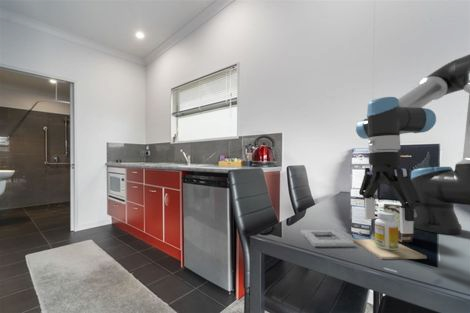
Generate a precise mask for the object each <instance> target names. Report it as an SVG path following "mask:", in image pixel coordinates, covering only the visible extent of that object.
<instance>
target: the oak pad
mask: <svg viewBox="0 0 470 313" xmlns="http://www.w3.org/2000/svg"><path fill="white" fill-rule="evenodd" d="M352 241H353V242H355V244H357V245H358V246H360V247H362V248H363V249H364V250H366V251H368V252H370V253H371V254H373V255H374V256H376V257H377V258H379V259H380V260H410V259H411V260H419V259H421V260H422V259H425V260H426V259H428V257H427V255H426V254H423V253H421V252H418V251H416V250H414V249H412V248H410V247H408V246H405V245H404V244H401V243H399V242H398V250H385V249H382V248H379V247H377V246H376V245H375V238H374V239H361V238H360V239H356V238H355V239H352Z"/></svg>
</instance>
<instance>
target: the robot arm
mask: <svg viewBox="0 0 470 313" xmlns="http://www.w3.org/2000/svg"><path fill="white" fill-rule="evenodd" d="M459 91H464V92H466V93H468V94H469V95H468V104H467V112H466V114H467V115H466V122H465V123H466V124H465V133H464V142H463V152H462V160H460V161H458V162H457V163H455V167H454V169H453V168H452V166H434V167H420V168H415V169H412V170H411V174H410V169H409V168H398V167H399V165H401V163H402V162H401V161H402V159H401V158H402V156H401V152H400V150H401V135H403V134H419V133H421V134H423V133H426V132H429V131H430V130H431V129H433V127H434V126H435V125H436V122H437V116H436V113H435V112H434V111H433V110H432V109H431V108H425V106H426V105H427V104H429V103H431V102H432V101H435V100H436V101H437V100H439V99H441V98H443V97H444V96H447V95H449V94H453V93H455V92H459ZM366 113H367V114H366V118H364V119H362V120H360V121H358V122H357V124H356V126H355V132H356V134H357V135H358V137H359V138H360V139H363V140H364V139H365V140H368V151H369V153H368V164H369V165H370V166H372V167H365V168H364V176H363V178H362V182H361V185H360V189H359V192H358V193H359V195H360V196H362V198H363V200H364V201H363V202H364V203H363V204H364V219H365V220H376V209H375V208H376V207H375V206H376V205H375V202H376V201H375V196H374V195H375V193H376V192H377V190H378V189H379V188H380V186H381V185H382V184H384V185H387V186H388V187H389V188H390V189H391V190H392V192H393V194H394V196H395V197H396V198H397V200H398V202H399V203H400V204H401V207H400V233H402V234H413V235H414V229H416V230H417V229H418V230H421V231H425V232H429V233H437V234H443V235H444V234H445V235H459V234H462V233H463V228H462V225H461V223H460V222H459V219H458V217H457V214H456V212H455V209H454V207H455V205H458V206H459V205H461V206H466V207H470V53H469V54H467V55H464V56H462V57H460V58H455V59H454V60H452V61H450V62H448V63H446V64H444V65H443V66H440V67H439V68H438V69H436V70H435V71H433V72H432V73H430V74H428V76H425V77H424V78H423V79H422V80H420V81H419V82H418V84H417V86H416V87H414V88H413V89H411V90H410V91H409V92H406V93H405V94H404V95H402V96H400V97H399V98H397V97H395V96H383V97H379V98H375V99H372V100H370V101H369V102H368V103H367V112H366ZM414 209H415V211H416V214H417V217H415V218H414ZM413 221H414V229H413Z"/></svg>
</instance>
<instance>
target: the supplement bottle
mask: <svg viewBox="0 0 470 313" xmlns="http://www.w3.org/2000/svg"><path fill="white" fill-rule="evenodd" d="M394 219H395V214H394V213H390V212H384V211H382V210H381V211H377V218H375V219H374V239H375V245H376V246H377V247H379V248H382V249H385V250H398V243H399V240H398V224H397V222H395V221H394Z"/></svg>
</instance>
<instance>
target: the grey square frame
mask: <svg viewBox="0 0 470 313" xmlns="http://www.w3.org/2000/svg"><path fill="white" fill-rule="evenodd" d="M299 234H300V235H302V236H303V237H304V239H306V240H307V241H308V242H309V244H311V245H312V246H313V247H314V248H327V247H328V248H341V247H342V248H343V247H344V248H346V247H347V248H349V247H355V246H356V245H355V244H356V243H355V242H353V240H351V239H350V238H348V237H347V236H345V235H344V234H342V233H340V232H338V231H337V230H336V229H300V231H299ZM318 236H326V237H327V236H331V237H332V238H334V239H319V237H318Z"/></svg>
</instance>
